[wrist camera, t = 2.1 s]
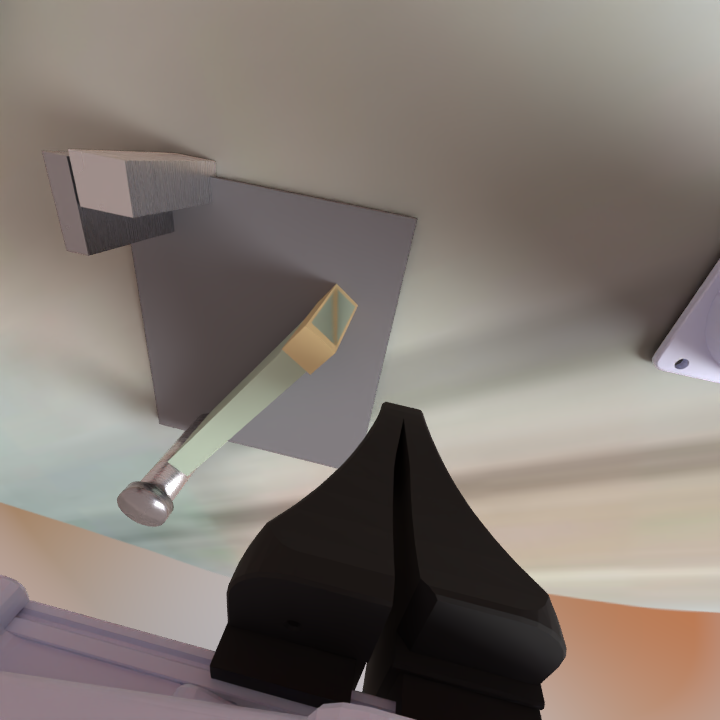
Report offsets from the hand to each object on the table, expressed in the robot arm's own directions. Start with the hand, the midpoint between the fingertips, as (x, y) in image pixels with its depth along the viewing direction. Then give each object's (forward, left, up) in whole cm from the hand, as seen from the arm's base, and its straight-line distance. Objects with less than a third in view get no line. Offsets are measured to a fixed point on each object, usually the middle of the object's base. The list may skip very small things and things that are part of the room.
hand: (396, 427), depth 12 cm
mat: (+7, +1, -6) cm, 10 cm away
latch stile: (+11, -6, -6) cm, 14 cm away
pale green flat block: (+6, +2, -6) cm, 9 cm away
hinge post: (+10, +8, -6) cm, 14 cm away
